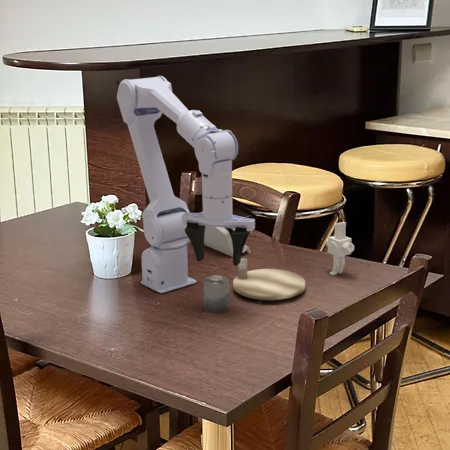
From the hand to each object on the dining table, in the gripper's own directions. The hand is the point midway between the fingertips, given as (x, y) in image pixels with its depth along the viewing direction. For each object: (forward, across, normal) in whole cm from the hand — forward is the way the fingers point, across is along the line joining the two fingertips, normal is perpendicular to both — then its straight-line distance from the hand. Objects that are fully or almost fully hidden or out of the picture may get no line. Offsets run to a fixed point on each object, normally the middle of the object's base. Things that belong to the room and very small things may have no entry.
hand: (218, 261), depth 152 cm
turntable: (+9, -7, -11) cm, 16 cm away
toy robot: (+10, -18, -25) cm, 33 cm away
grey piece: (+10, +13, -33) cm, 37 cm away
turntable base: (+9, -7, -11) cm, 16 cm away
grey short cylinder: (+9, 0, +1) cm, 9 cm away
